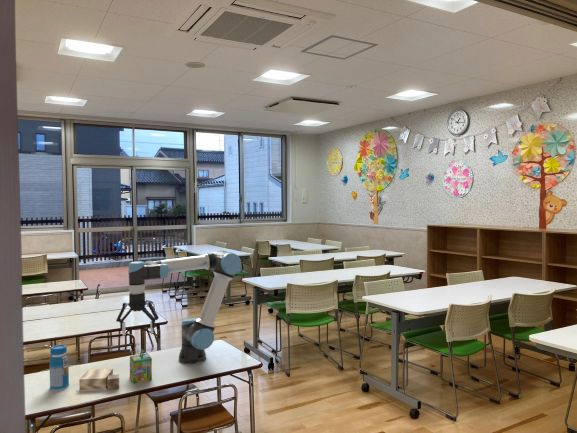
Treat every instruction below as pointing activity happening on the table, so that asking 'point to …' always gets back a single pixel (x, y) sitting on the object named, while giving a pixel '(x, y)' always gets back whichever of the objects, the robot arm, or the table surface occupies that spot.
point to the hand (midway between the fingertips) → (138, 334)
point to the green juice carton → (140, 367)
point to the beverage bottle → (59, 368)
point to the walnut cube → (113, 382)
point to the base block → (95, 379)
